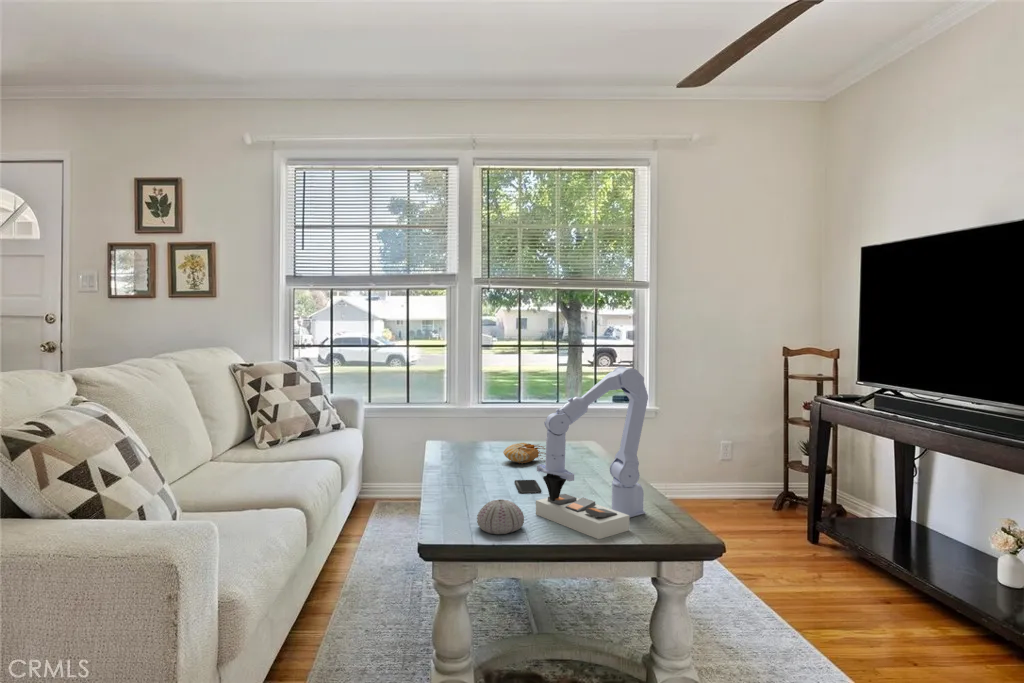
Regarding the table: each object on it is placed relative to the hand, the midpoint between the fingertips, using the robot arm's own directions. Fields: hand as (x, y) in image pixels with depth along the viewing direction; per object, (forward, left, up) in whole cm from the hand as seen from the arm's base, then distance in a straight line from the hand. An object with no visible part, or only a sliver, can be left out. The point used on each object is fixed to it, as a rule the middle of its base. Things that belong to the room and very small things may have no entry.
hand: (554, 500), depth 173 cm
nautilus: (-39, -61, -5) cm, 73 cm away
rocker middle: (-3, +8, -1) cm, 9 cm away
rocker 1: (-3, 0, -1) cm, 3 cm away
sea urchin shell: (+19, -1, -5) cm, 20 cm away
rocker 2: (-3, +16, -1) cm, 16 cm away
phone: (-14, -30, -6) cm, 33 cm away
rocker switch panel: (-3, +8, -5) cm, 10 cm away
